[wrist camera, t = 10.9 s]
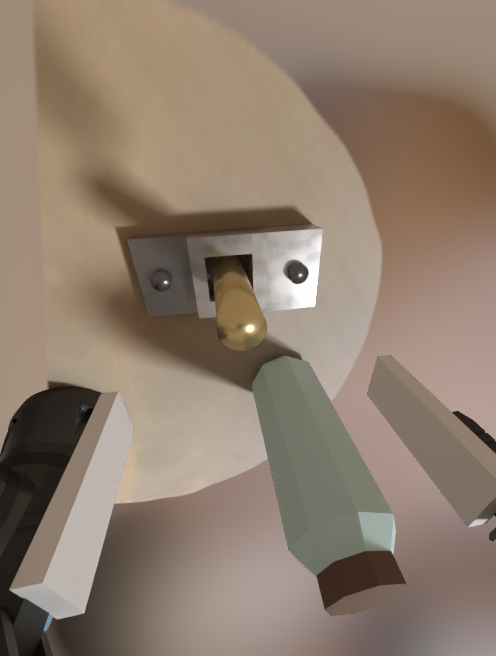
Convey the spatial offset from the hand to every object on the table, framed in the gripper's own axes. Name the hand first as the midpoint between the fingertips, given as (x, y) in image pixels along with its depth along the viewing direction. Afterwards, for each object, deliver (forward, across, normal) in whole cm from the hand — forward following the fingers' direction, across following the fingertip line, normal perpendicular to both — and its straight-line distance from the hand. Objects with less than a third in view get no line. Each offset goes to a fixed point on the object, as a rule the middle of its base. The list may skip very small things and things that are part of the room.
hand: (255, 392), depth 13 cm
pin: (+20, 0, 0) cm, 20 cm away
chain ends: (+20, 0, 0) cm, 20 cm away
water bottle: (+20, +7, -18) cm, 28 cm away
